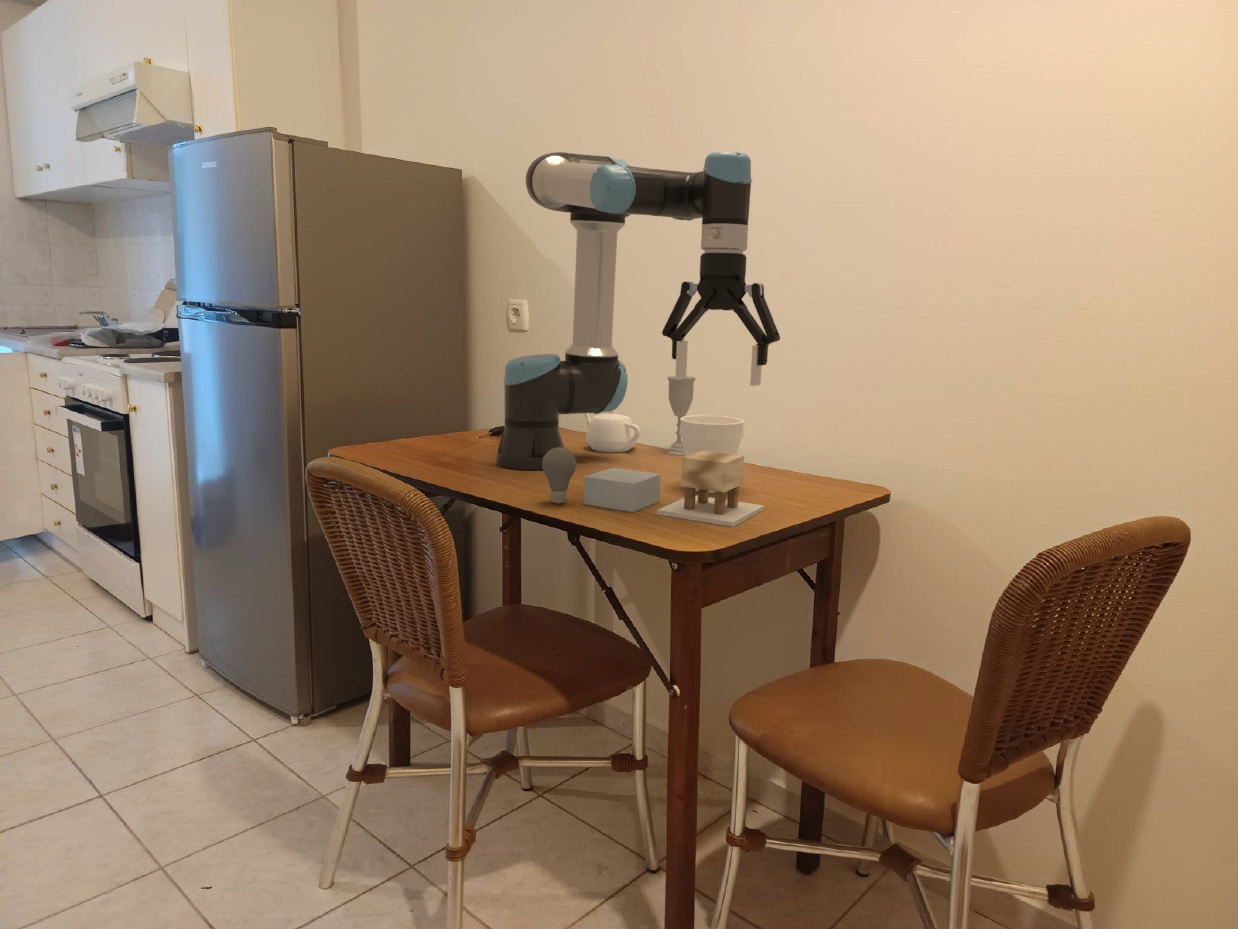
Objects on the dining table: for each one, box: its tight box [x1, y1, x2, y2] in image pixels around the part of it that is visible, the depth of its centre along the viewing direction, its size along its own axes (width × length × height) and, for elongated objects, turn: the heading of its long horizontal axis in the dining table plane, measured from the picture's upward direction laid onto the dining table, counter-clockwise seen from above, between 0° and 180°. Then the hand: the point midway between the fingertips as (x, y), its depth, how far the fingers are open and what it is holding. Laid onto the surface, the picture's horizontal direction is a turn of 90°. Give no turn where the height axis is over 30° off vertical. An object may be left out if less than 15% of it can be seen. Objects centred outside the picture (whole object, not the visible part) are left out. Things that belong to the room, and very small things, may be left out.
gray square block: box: [583, 467, 662, 513], centre depth 156 cm, size 10×10×5 cm
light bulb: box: [542, 447, 577, 505], centre depth 154 cm, size 6×6×10 cm
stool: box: [680, 451, 745, 515], centre depth 150 cm, size 8×8×9 cm
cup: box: [679, 414, 745, 494], centre depth 168 cm, size 12×12×14 cm
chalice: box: [666, 375, 697, 456], centre depth 206 cm, size 7×7×18 cm
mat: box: [656, 495, 765, 528], centre depth 151 cm, size 14×14×1 cm
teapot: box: [582, 409, 642, 453], centre depth 210 cm, size 20×12×10 cm, turn 43°
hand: (717, 382), depth 147 cm, fingers open, 13 cm apart
